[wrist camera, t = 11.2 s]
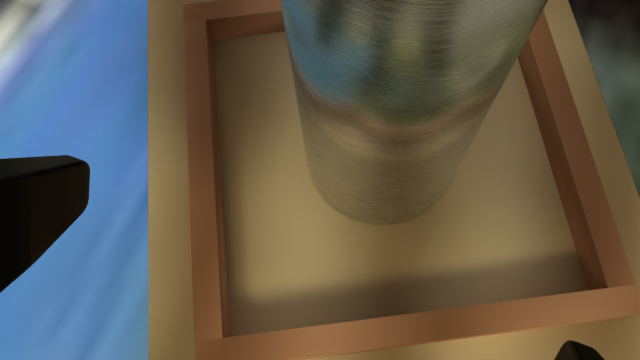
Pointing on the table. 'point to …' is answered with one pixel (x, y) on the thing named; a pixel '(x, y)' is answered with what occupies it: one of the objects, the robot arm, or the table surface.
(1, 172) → the robot arm
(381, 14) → the disc
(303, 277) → the tray
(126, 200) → the table surface
